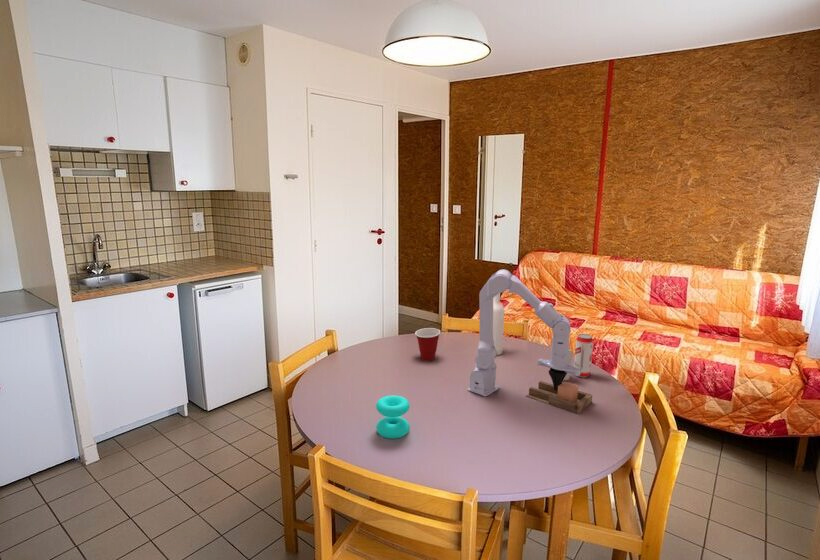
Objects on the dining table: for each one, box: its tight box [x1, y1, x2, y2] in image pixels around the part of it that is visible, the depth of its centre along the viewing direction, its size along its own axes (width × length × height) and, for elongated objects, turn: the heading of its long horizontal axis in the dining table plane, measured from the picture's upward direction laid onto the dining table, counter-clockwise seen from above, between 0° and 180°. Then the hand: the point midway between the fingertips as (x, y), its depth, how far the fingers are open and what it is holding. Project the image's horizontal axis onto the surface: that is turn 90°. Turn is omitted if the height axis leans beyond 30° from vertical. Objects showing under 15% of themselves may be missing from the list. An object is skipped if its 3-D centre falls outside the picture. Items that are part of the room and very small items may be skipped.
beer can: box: [573, 333, 594, 379], centre depth 183 cm, size 6×6×16 cm
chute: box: [525, 380, 593, 415], centre depth 164 cm, size 11×19×3 cm, turn 48°
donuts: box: [375, 394, 410, 439], centre depth 142 cm, size 10×10×10 cm
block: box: [557, 380, 579, 403], centre depth 161 cm, size 5×5×6 cm
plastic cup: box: [414, 327, 441, 361], centre depth 200 cm, size 11×11×12 cm
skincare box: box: [563, 348, 573, 382], centre depth 181 cm, size 6×4×12 cm
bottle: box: [493, 293, 505, 356], centre depth 205 cm, size 8×8×30 cm
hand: (557, 389), depth 164 cm, fingers closed
